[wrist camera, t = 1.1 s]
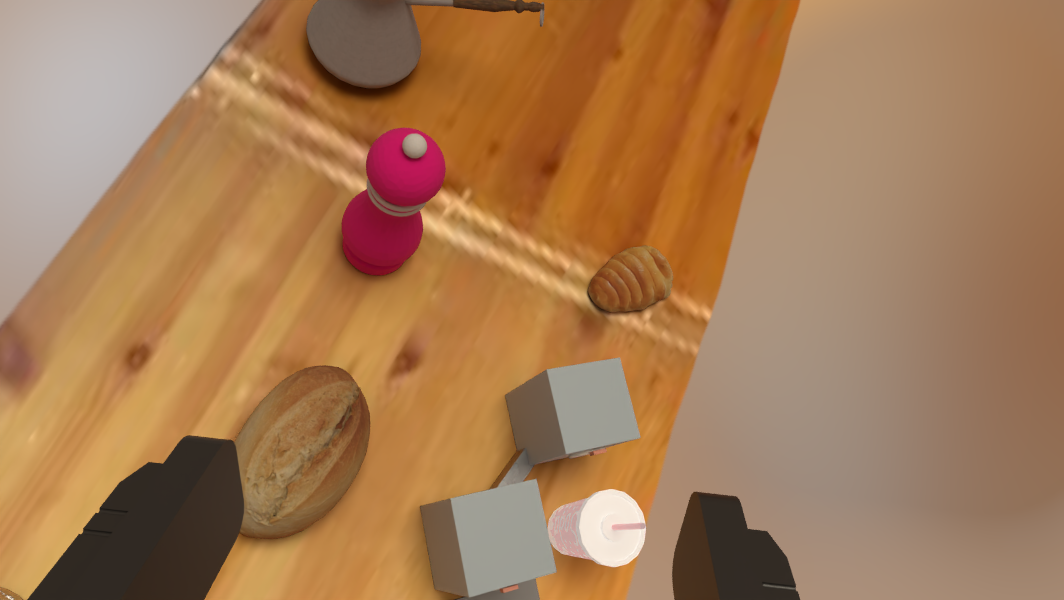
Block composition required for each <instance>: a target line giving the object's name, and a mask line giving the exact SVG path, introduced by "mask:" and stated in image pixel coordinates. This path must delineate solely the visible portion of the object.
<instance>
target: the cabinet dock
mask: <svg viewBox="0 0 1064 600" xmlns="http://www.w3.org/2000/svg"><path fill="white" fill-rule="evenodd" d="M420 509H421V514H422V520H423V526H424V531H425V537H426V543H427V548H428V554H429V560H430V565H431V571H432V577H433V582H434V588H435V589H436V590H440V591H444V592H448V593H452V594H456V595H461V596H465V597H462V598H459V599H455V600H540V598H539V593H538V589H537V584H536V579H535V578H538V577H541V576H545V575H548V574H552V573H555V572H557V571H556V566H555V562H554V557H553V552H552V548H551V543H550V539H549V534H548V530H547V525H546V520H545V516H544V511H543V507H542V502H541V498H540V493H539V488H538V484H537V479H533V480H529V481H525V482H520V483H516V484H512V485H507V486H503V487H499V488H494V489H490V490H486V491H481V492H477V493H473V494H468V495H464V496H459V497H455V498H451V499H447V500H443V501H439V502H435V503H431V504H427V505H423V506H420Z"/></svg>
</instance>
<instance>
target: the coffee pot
mask: <svg viewBox="0 0 1064 600" xmlns="http://www.w3.org/2000/svg"><path fill="white" fill-rule="evenodd" d="M411 5H425V6H454V7H456V8H465V9H473V10H482V11H490V12H499V11H510V10H515V11H516V12H517V13H521V12H523V11H524V10H526V11H528V10H529V11H531V12H539V11H540V26H541V27H542V26H543V20H544V3H542V4H540V3H537V2H530V3H525V2H523V1H522V0H517V1H515V2H514V1H510V0H318V1H317V2H316V3H315V4H314V6H313V8H312V10H311V12H310V14H309V16H308V19H307V28H306V31H307V35H308V40H309V45H310V47H311V48H312V50H313V52H314V54H315V56H316V58H317V59H318V61H319V62H320V63H321V64H322V65H323V66H324V67H325V69H326V70H327V71H328V72H330V73H331V74H333V75H334V76H335V77H337V78H338V79H340V80H342V81H344V82H347V83H349V84H351V85H354V86H359V87H364V88H382V87H386V86H390V85H393V84H395V83H397V82H398V81H400V80H402V79H403V78H405V77H407V76H408V75H409V74H410V72H411V71H412V70H413V69H414V68H415V67H416V65H417V62H418V60H419V57H420V52H421V39H420V35H419V32H418V28H417V25H416V21H415V18H414V15H413V11H412V8H411Z"/></svg>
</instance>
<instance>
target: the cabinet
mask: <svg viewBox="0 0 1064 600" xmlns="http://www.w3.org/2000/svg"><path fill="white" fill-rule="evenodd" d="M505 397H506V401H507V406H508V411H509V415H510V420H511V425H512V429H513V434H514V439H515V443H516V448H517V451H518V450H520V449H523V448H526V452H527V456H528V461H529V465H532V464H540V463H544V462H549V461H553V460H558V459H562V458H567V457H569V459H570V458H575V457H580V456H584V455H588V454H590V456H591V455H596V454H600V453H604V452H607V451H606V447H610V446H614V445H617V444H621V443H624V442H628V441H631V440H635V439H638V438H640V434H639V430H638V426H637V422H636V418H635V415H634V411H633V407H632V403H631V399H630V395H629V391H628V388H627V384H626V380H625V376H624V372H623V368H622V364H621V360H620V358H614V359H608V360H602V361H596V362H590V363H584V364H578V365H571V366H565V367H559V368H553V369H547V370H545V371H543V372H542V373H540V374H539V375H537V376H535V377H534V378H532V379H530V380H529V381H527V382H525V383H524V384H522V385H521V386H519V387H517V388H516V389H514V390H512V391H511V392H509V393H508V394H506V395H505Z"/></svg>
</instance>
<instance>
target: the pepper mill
mask: <svg viewBox="0 0 1064 600" xmlns="http://www.w3.org/2000/svg"><path fill="white" fill-rule="evenodd" d="M445 170H446V168H445V161H444V157H443V154H442V152H441V150H440V148H439V146H438V145H437V144H436V142H435V141H434V140H433V139H432V138H431V137H429V136H428V135H426V134H425V133H423V132H421V131H419V130H416V129H411V128H398V129H393V130H390V131H388V132H386V133H384V134H382V135H381V136H380V137H379V138H378V139H377V140H376V141H375V142H374V143H373V145H372V146H371V148H370V150H369V153H368V156H367V161H366V172H367V176H368V179H367V189H366V190H365V191H363V192H361V193H360V194H358V195H357V196H356V197H355V198H353V199H352V201H351V202H350V203H349V205H348V206H347V208H346V210H345V212H344V215H343V219H342V234H343V250H344V253H345V255H346V257H347V259H348V261H349V262H350V263H351V264H352V265H353V266H354V267H355V268H357V269H358V270H360V271H362V272H364V273H367V274H370V275H385V274H389V273H392V272H394V271H395V270H397V269H398V268H399V267H400V266H401V265H402V264H403V263H404V261H405V260H407V259H408V258H409V257H410V256H411V255H412V254H413V253H414V252H415V251H416V249H417V248H418V246H419V243H420V240H421V237H422V232H423V222H422V216H421V213H420V211H419V210H421V209H422V208H423V207H424V205H425V204H426V202H427V201H428V200H430V199H431V198H432V197H434V196H435V195H436V194H437V192H438V191H439V190H440V188H441V186H442V183H443V181H444V177H445Z"/></svg>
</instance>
